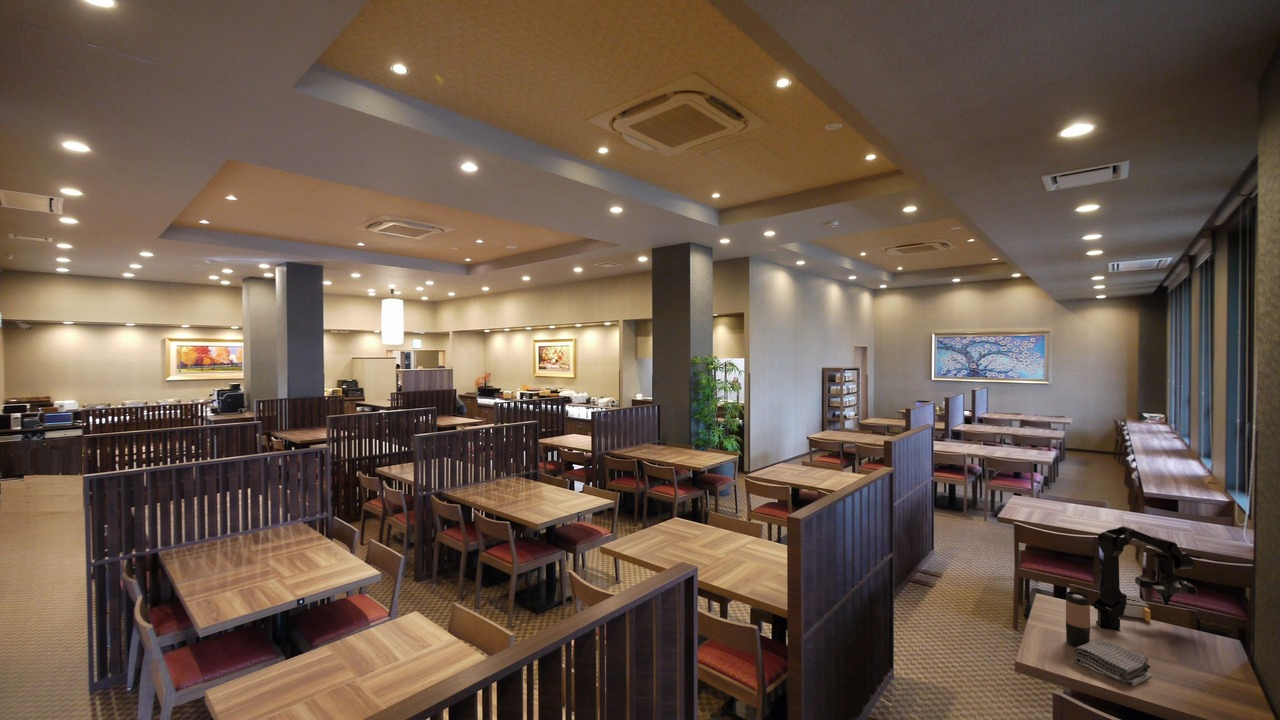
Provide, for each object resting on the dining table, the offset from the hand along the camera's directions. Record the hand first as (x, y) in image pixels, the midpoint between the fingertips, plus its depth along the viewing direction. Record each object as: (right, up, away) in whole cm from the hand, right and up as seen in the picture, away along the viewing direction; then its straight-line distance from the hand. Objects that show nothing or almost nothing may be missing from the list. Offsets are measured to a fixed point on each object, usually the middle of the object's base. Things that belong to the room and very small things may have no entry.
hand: (1165, 605), depth 235 cm
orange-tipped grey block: (-7, -8, +12) cm, 16 cm away
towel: (-52, -9, -34) cm, 63 cm away
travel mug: (-51, -9, -16) cm, 54 cm away
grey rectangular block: (-8, -8, +5) cm, 12 cm away
